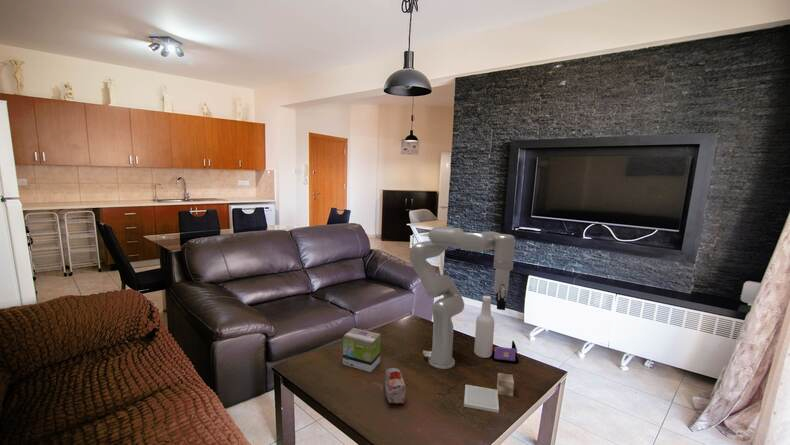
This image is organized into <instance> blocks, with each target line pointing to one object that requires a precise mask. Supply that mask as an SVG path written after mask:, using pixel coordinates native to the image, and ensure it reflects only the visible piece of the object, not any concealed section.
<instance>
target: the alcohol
mask: <svg viewBox="0 0 790 445" xmlns="http://www.w3.org/2000/svg"><path fill="white" fill-rule="evenodd" d="M491 299H492V297H491V296H490V295H484V296H482V303H481V310H480V314H478V315H477V317H476V320H475V335H474V349H473V350H474V351H473V352H474V354H475V355H476V356H477V357H479V358H483V359H484V358H485V359H486V358H487V359H488V358H490V357H491V356H492V349H494V348H493V347H494V346H493V345H494V332H495V319H494V317H493V315H492V312H491V310H492V309H491V307H492V306H491V304H492V302H491V301H492V300H491Z"/></svg>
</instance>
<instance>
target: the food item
mask: <svg viewBox="0 0 790 445" xmlns="http://www.w3.org/2000/svg"><path fill="white" fill-rule="evenodd" d="M383 384H384V389H385V390H384V391H385V396H386V399H387V402H388V403H389V404H404V403H405V401H406V395H407V393H406V392H407V386H406V384H405V381H404V378H403V375H402V373H401V370H400V369H399V368H397V367H391V368H386V369H384V383H383Z"/></svg>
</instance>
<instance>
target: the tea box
mask: <svg viewBox="0 0 790 445" xmlns="http://www.w3.org/2000/svg"><path fill="white" fill-rule="evenodd" d="M381 335H382V334H381V333H377V332H373V331H369V330H364V329H361V328H356V327H352V328H351V329H350V330H349V331H348V332H347V333H345V334H344V335H343V337H342V338H343V340H342V365H344V366H348V367H350V368H355V369H358V370H361V371H364V372H365V371H366V372H368V373H371V372H373V371H374V369H375V368H376V367H377V366H378V365H379V364H380V362H381V344H382V343H381V342H382V341H381V340H382V339H381V338H382V336H381Z"/></svg>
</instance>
